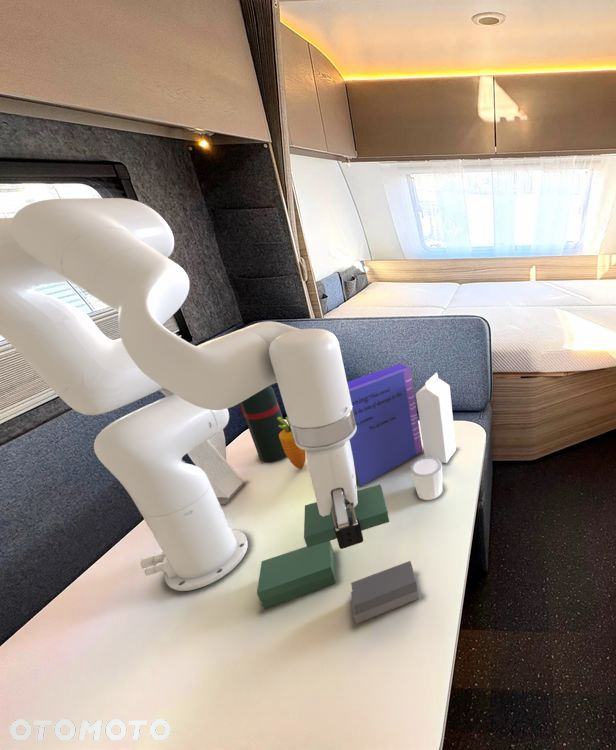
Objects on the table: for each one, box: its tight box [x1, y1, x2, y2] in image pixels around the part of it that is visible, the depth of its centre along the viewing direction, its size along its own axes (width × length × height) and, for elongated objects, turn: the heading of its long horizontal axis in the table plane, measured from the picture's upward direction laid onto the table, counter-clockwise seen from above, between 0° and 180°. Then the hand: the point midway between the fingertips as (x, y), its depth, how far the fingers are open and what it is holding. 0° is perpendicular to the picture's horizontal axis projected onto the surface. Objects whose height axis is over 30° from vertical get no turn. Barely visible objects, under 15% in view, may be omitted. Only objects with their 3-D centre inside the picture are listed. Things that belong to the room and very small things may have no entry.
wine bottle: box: [238, 385, 288, 463], centre depth 96 cm, size 8×10×30 cm
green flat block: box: [303, 483, 390, 548], centre depth 56 cm, size 11×6×2 cm, turn 114°
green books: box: [256, 541, 337, 610], centre depth 66 cm, size 11×6×4 cm, turn 114°
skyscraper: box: [181, 429, 246, 506], centre depth 83 cm, size 8×8×28 cm
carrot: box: [277, 416, 306, 470], centre depth 92 cm, size 5×5×15 cm
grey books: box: [350, 560, 420, 625], centre depth 63 cm, size 10×4×4 cm, turn 114°
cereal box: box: [347, 363, 424, 488], centre depth 90 cm, size 17×5×24 cm, turn 136°
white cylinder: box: [409, 456, 443, 501], centre depth 85 cm, size 7×7×7 cm
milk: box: [415, 372, 457, 464], centre depth 94 cm, size 6×6×22 cm
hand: (349, 525), depth 57 cm, fingers closed on green flat block, 6 cm apart
